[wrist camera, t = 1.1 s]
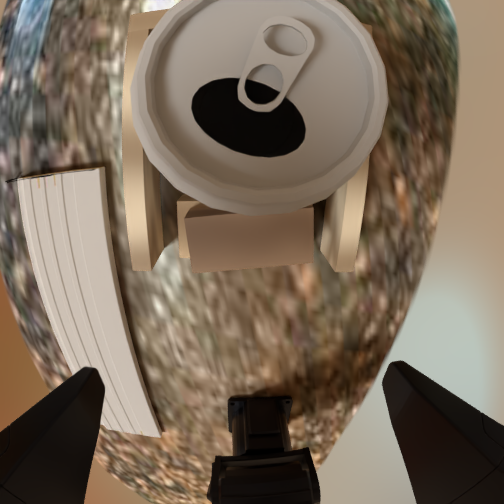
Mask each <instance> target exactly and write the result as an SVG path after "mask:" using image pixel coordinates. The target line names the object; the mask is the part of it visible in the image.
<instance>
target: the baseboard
mask: <svg viewBox="0 0 504 504" xmlns="http://www.w3.org/2000/svg"><path fill="white" fill-rule="evenodd" d="M15 179H17V180H15V181H17V182H18V191H19V199H20V206H21V213H22V219H23V225H24V230H25V235H26V240H27V245H28V249H29V253H30V258H31V262H32V266H33V269H34V273H35V277H36V280H37V284H38V287H39V290H40V294H41V297H42V300H43V303H44V306H45V309H46V312H47V314H48V317H49V320H50V323H51V325H52V328H53V331H54V333H55V336H56V338H57V341H58V343H59V345H60V348H61V350H62V352H63V355H64V357H65V359H66V361H67V363H68V366H69V368H70V370H71V372H72V374H73V375H74V374H75V373H76V372H78V371H79V370H80V369H81V368H83V367H85V366H88V367H94V368H96V369H97V370H98V371H99V374H100V376H101V378H102V380H103V383H104V385H105V397H104V403H103V409H102V416H101V423H100V424H102V425H104V426H105V427H106V428H107V429H109V430H117V431H120V432H128V433H132V434H141V435H144V436H152V437H160V438H161V435H162V431H161V429H160V426H159V423H158V421H157V418H156V416H155V413H154V410H153V407H152V405H151V402H150V399H149V396H148V393H147V390H146V387H145V384H144V381H143V378H142V374H141V371H140V368H139V364H138V361H137V357H136V354H135V350H134V347H133V343H132V339H131V335H130V331H129V327H128V323H127V319H126V315H125V310H124V306H123V301H122V296H121V292H120V287H119V281H118V276H117V270H116V264H115V258H114V252H113V245H112V238H111V230H110V222H109V213H108V203H107V192H106V177H105V167H96V168H87V169H78V170H70V171H62V172H55V173H48V174H41V175H35V176H29V177H24V178H19V179H18V178H15ZM12 180H14V179H11V180H8V181H9V182H13V181H12ZM8 181H5V182H7V183H8Z"/></svg>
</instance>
